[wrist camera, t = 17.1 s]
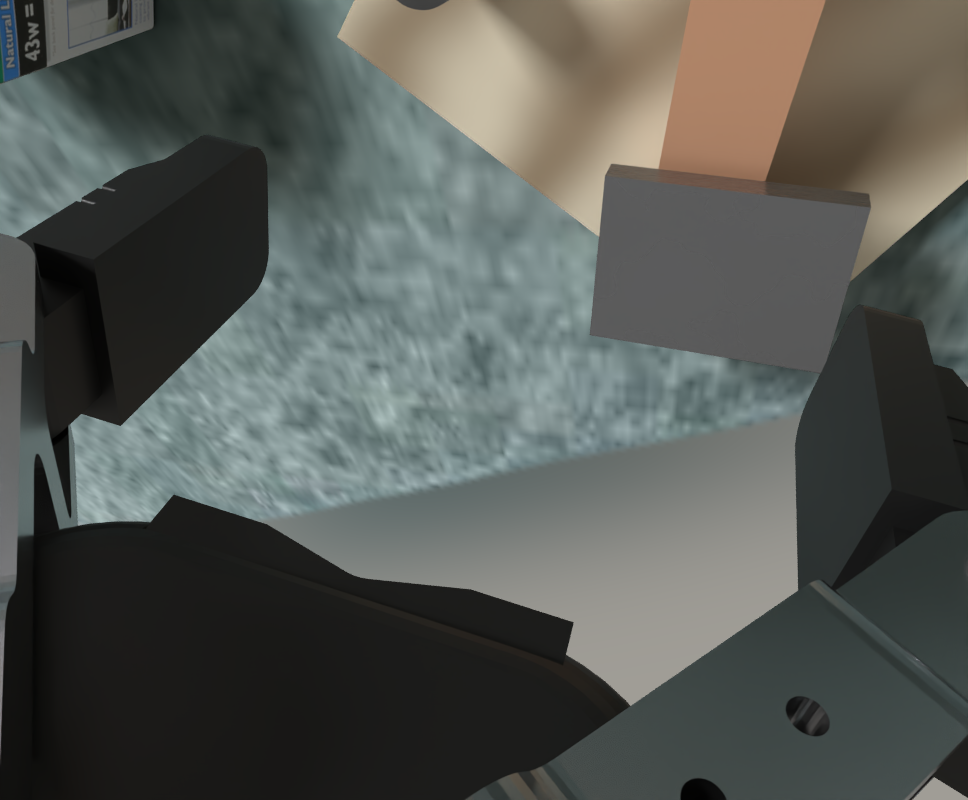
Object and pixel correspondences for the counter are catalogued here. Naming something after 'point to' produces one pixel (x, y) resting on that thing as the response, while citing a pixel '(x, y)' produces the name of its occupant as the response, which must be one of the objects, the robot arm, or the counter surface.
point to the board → (650, 83)
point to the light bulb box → (63, 30)
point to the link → (736, 84)
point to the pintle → (422, 4)
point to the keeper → (725, 264)
